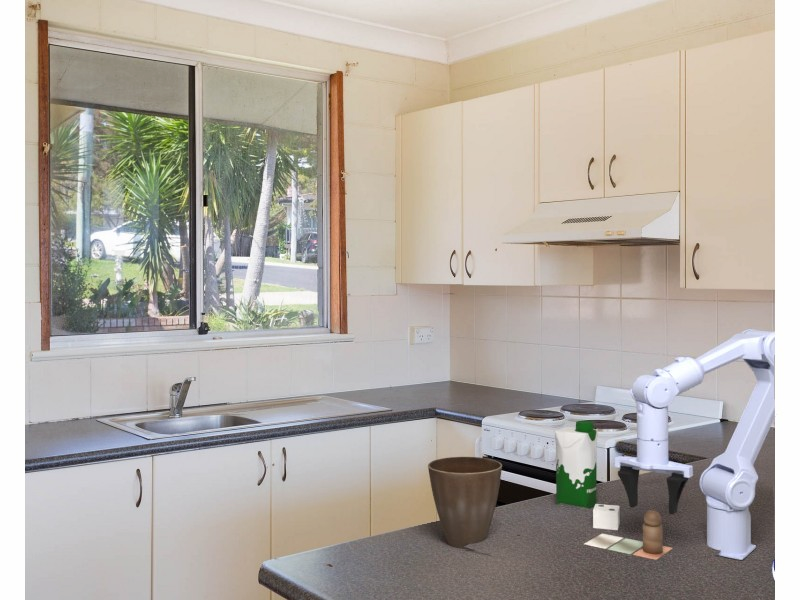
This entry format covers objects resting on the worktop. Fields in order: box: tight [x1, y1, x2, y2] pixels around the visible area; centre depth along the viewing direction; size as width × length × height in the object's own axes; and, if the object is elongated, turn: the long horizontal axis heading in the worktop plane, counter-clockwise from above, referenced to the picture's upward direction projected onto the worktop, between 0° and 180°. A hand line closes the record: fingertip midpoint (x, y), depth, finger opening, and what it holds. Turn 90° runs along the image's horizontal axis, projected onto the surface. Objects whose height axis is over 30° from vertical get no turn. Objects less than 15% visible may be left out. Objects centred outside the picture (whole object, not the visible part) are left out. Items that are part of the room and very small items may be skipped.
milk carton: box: [554, 420, 599, 509], centre depth 187 cm, size 9×9×20 cm
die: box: [592, 503, 621, 531], centre depth 167 cm, size 5×5×5 cm
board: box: [583, 533, 673, 560], centre depth 154 cm, size 10×15×1 cm, turn 51°
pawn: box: [642, 509, 664, 554], centre depth 151 cm, size 4×4×8 cm
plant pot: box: [427, 456, 503, 549], centre depth 160 cm, size 15×15×16 cm
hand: (653, 509), depth 151 cm, fingers open, 7 cm apart
